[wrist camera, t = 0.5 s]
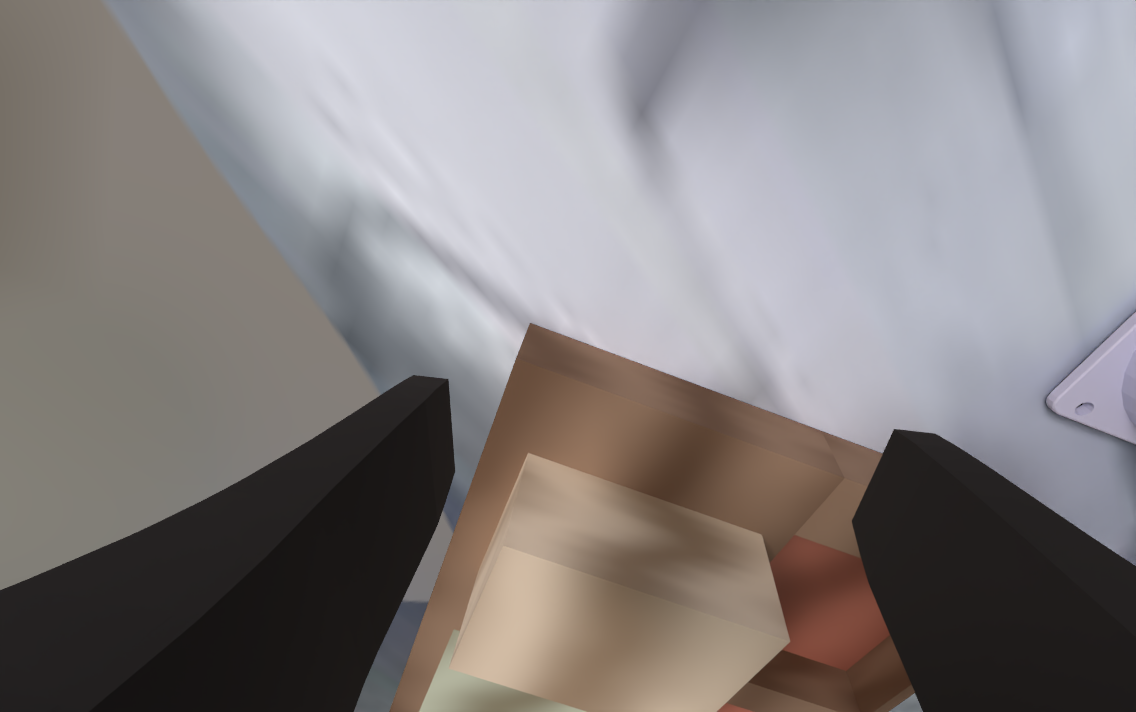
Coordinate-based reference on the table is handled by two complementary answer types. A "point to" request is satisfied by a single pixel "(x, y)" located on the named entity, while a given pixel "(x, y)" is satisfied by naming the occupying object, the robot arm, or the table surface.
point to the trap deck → (694, 481)
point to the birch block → (618, 599)
